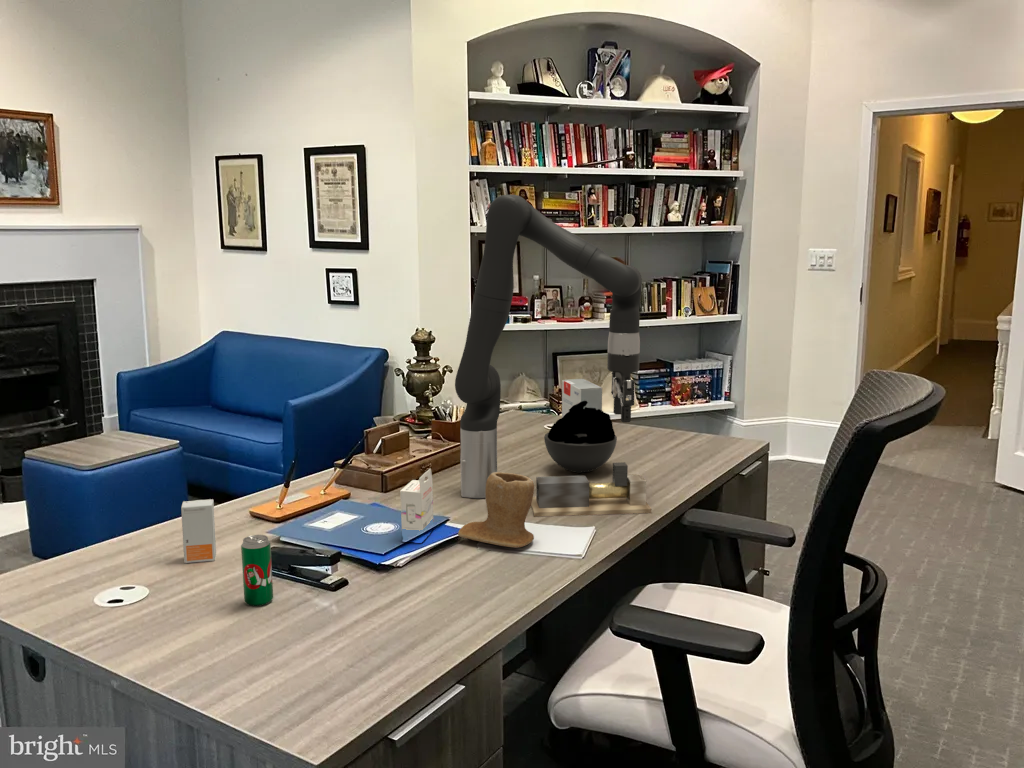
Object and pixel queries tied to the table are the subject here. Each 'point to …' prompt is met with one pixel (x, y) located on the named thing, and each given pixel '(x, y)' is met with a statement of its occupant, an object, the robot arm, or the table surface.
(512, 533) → the brown felt boot
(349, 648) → the table surface
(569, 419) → the coal bowl
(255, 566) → the soda can
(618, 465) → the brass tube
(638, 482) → the tube stand
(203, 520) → the skincare box
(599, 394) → the hard drive box
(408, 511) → the ink cartridge box
